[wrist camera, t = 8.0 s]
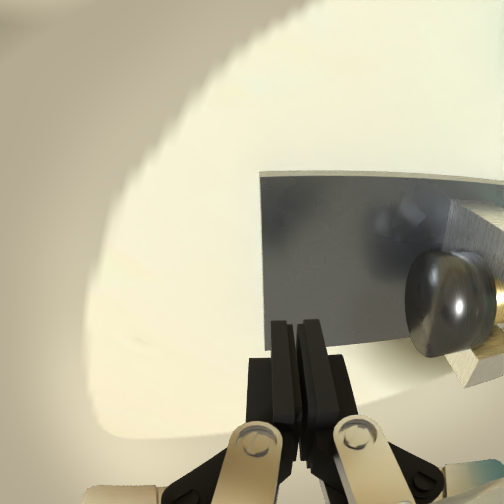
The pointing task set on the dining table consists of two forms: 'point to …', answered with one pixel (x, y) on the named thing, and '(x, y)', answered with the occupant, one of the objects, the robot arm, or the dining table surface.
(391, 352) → the dining table surface
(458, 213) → the rig
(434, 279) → the shaft
